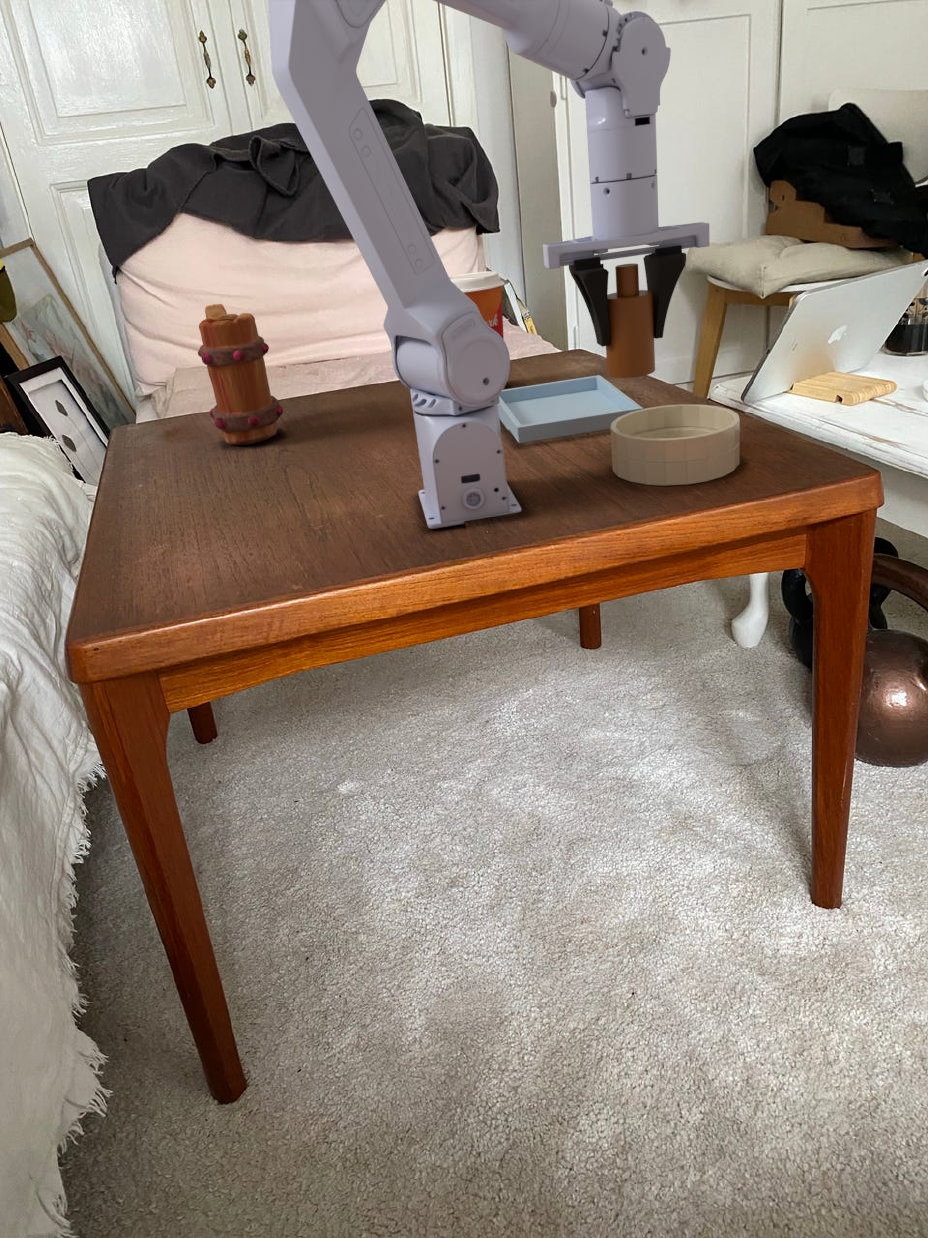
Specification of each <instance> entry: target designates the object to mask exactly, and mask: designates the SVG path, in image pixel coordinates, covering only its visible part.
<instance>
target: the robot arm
mask: <svg viewBox="0 0 928 1238" xmlns="http://www.w3.org/2000/svg"><path fill="white" fill-rule="evenodd" d="M432 1H433V2H435V3H439V4H441V5H443V6H446V7H448V8H451V9H453V10H456V11H459V12H461V13H464V14H466V15H469V16H470V17H473V18H476V19H478V20H481V21H483V22H486V23H488V24H491V25H494V26H496V27H498V28H500V29H502V32H503V36H504V39H505V42H506V45H507V48H508V49H509V50H510V51H511V52H512V53H513V54H515V55H517V56H519V57H521V58H523V59H526V60H527V61H530V62H532V63H534V64H536V65H539V66H541V67H542V68H545V69H547V70H549V71H551V72H553V73H556V74H558V75H559V76H562V77H565V78H567V79H569V82H570V84H571V87H572V88H573V90H574V91H575V93H576V94H577V95H578V96H579V98H580V99H584V100H585V118H586V119H585V120H586V134H587V135H586V136H587V138H586V139H587V154H588V170H589V171H588V172H589V173H588V174H589V189H590V190H589V191H590V192H589V193H590V207H591V208H590V209H591V210H590V211H591V223H592V224H591V227H592V228H591V229H592V235H590V236H585V237H580V238H574V239H569V240H568V239H567V240H563V241H558V242H557V241H555V242H551V243H543V244H542V252H543V253H542V254H543V264H544V268H545V269H548V270H553V269H560V268H561V267H566V266H568V271H569V273H570V276H571V277H572V279H573V281H574V282H575V284H576V287H577V289H578V290H579V292H580V294H581V296H582V298H583V301H584V303H585V305H586V309H587V311H588V313H589V316H590V318H591V322H592V325H593V326H592V327H593V329H594V335H595V339H596V344H597V345H598V346H600V347H606V346H610V330H609V321H608V310H607V295H608V294H609V292H608V291H609V290H608V289H609V270H608V269H606V268H605V267H604V266H605V265H604V263H601V261H609V260H615V259H622V258H623V259H624V258H629V257H637V256H643V255H644V257H643V258H642V259H643V265H644V272H645V279H646V290H648V291H652V292H653V318H654V340H656V339H663V337H664V331H665V325H666V319H667V316H668V311H669V307H670V303H671V300H672V297H673V295H674V292H675V289H676V286H677V284H678V281H679V279H680V277H681V276H682V273H683V271H684V269H685V268H686V267H685V266H686V263H687V253H686V252H683V250H686V249H691V248H692V249H693V248H698V249H700V248H706V247H707V248H708V247H710V223H709V222H704V221H699V222H691V223H684V224H674V225H665V226H659V225H660V224H659V223H660V222H659V193H658V192H659V190H658V186H659V185H658V152H657V149H658V148H657V118H656V117H657V116H656V114H657V112H658V110H659V109H658V108H659V106H661V87H662V84H663V82H664V79H665V77H666V76H667V75H666V74H667V73H668V71H669V66H670V62H671V53H672V50H671V47H667V46H666V44H667V43H666V38H665V35H664V32H663V30H662V28H661V26H660V25H659V24H658V23H657V22H656V21H655V20H654V19H653V18H652V16H650V15H649V14H647V13H646V12H643V11H640V10H639V11H637V10H634V11H631V12H627V13H623V14H621V13H620V12H619V11H618V9H616V8H615V7H613V6H614V1H613V0H432ZM386 2H387V0H267V8H268V9H267V10H268V24H269V25H268V26H269V27H268V28H269V46H270V47H269V49H270V61H271V64H270V65H271V74H272V77H273V80H274V83H275V85H276V88H277V90H278V91H279V94H280V96H281V98H282V100H283V102H284V104H285V106H286V108H287V111H288V112H289V114H290V116H291V117H292V119H293V122H294V124H295V126H296V128H297V130H298V132H299V134H300V135H301V137H302V139H303V141H304V144H305V145H306V147H307V149H308V152H309V153H310V155H311V158H312V159H313V161H314V163H315V165H316V167H317V170H318V171H319V173H320V175H321V176H322V179H323V181H324V183H325V186H326V187H327V189H328V191H329V193H330V195H331V197H332V199H333V201H334V203H335V205H336V206H337V207H336V208H337V209H338V211H339V212H340V215H341V217H342V218H343V220H344V222H345V225H346V226H347V228H348V231H349V233H350V235H351V236H352V239H353V241H354V242H355V245H356V246H357V248H358V250H359V253H360V255H361V256H362V259H363V260H364V263H365V264H366V266H367V269H368V270H369V272H370V275H371V276H372V278H373V280H374V282H375V284H376V286H377V288H378V290H379V292H380V294H381V296H382V299H383V300H384V302H385V304H386V305H387V310H386V314H385V317H384V320H383V329H384V331H385V333H386V335H387V338H388V339H389V343H390V346H391V360H392V361H391V362H392V367H393V371H394V373H395V375H396V377H397V379H398V381H400V383H401V384H402V385H403V386H404V387H405V388H407V389H408V390H409V393H410V399H411V406H412V407H411V408H412V415H413V421H414V427H415V435H416V441H417V450H418V456H419V462H420V470H421V476H422V483H423V489H421V490H418V492H417V493H418V498H419V501H420V505H421V508H422V511H423V515H424V519H425V522H426V525H427V528H428V529H430V530H433V529H434V530H435V529H440V528H448V527H453V526H460V525H465V524H466V523H465V522H467V521H473V520H480V519H487V518H492V517H499V516H505V515H510V514H518V513H521V512H522V507H521V505H520V503H519V501H518V500H517V498H516V496H515V495H514V494H513V491H512V489H511V487H510V486H509V484H508V480H507V471H506V470H507V469H506V461H505V451H504V445H503V439H502V430H501V420H500V418H499V410H498V404H499V403H500V400H499V394H500V393H501V391H502V390H504V389H503V388H504V387H505V388H506V385H507V382H508V379H509V375H510V371H511V357H510V356H511V355H510V351H509V349H508V346H507V343H506V341H505V340H503V338H502V337H501V336H500V335H499V334H498V333H497V332H496V331H494V330H493V329H492V328H490V327H489V326H488V325H487V324H486V322H485V321H484V319H483V318H482V316H481V314H480V311H479V309H478V307H477V305H476V304H475V303H474V302H473V301H472V300H471V299H470V298H469V297H468V296H467V295H465V294H464V293H463V292H462V291H461V290H460V289H459V288H458V287H457V286H456V285H455V284H454V283H453V282H452V281H451V280H450V279H449V277H450V276H449V275H448V272H447V270H446V268H445V265H444V264H443V261H442V259H441V256H440V254H439V253H438V250H437V248H436V246H435V244H434V241H433V239H432V237H431V235H430V232H429V230H428V228H427V225H426V224H425V222H424V220H423V217H422V215H421V213H420V211H419V208H418V207H417V204H416V201H415V200H414V198H413V196H412V193H411V191H410V188H409V186H408V184H407V181H406V180H405V178H404V175H403V173H402V171H401V169H400V167H399V165H398V162H397V160H396V158H395V155H394V154H393V151H392V149H391V147H390V144H389V142H388V140H387V139H386V136H385V134H384V132H383V130H382V127H381V125H380V123H379V121H378V119H377V117H376V114H375V112H374V110H373V107H372V105H371V103H370V102H369V98H368V97H367V94H366V92H365V89H364V88H363V86H362V83H361V82H360V79H359V77H358V73H357V69H358V68H357V67H358V64H359V61H360V58H361V55H362V51H363V48H364V46H365V45H364V44H365V42H366V38H367V36H368V32H369V30H370V26H371V23H372V22H373V20H374V19H375V17H376V16H377V14H378V13H379V12H380V10H381V9H382V7H383V6H384V4H385V3H386ZM639 246H647V247H641V248H633V249H626V250H620V251H619V250H618V251H611V252H609V250H614V249H623V248H624V249H625V248H631V247H639Z"/></svg>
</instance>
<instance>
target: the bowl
mask: <svg viewBox="0 0 928 1238" xmlns="http://www.w3.org/2000/svg"><path fill="white" fill-rule="evenodd" d="M740 435H741V419H740V415H739V414H738V413H737V412H735V411H733V410H732V409H730V408H725V407H722V406H718V405H711V404H709V405H708V404H699V403H698V404H697V403H696V404H695V403H694V404H690V403H684V404H683V403H681V404H668V405H659V406H653V407H647V408H643V409H642V410H638V411H634V412H630V413H628V414H625V415H623V416H621V417H618V418H617V419H616V420H615V421H613V422H612V423H611V429H610V445H611V446H610V447H611V462H612V463H611V465H612V466H611V467H612V472H613V473H614V475H615V476H617V477H618V478H620V479H622V480H625V481H627V482H630V483H635V484H641V485H646V486H663V487H664V486H665V487H666V486H667V487H668V486H683V485H684V486H685V485H693V484H699V483H705V482H709V481H712V480H713V481H714V480H716V479H719V478H723V477H725V476H727V475H728V474H730V473H732V472H734V471H735V470H736V469H737V467H738V466H739V465H740V453H741V452H740V447H741V446H740V445H741V444H740V443H741V442H740V441H741V436H740Z"/></svg>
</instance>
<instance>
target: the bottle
mask: <svg viewBox="0 0 928 1238" xmlns="http://www.w3.org/2000/svg"><path fill="white" fill-rule="evenodd" d="M614 270H615V287H616V290H615V291H616V292H611V293H608V294H607V310H608V321H609V330H610V346H605V353H606V354H605V355H606V356H605V357H606V372H607V373H606V375H607V376H608V377H611V378H615V379H630V378H639V377H644V376H649V375H651V374H653V373H654V372H655V371H656V355H655V354H656V353H655V352H656V351H655V338H654V318H653V292H652V291H648V290H647V289H640V280H639V279H640V278H639V264H638V263H622V264H618V265H616V266H615V269H614Z"/></svg>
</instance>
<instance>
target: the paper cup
mask: <svg viewBox="0 0 928 1238" xmlns="http://www.w3.org/2000/svg"><path fill="white" fill-rule="evenodd" d="M449 279H450V280H451V281H452V282H453V283H454V284H455V285H456V286H457V287H458V288H459V289H460V290H461V291H462V292H463V293H464V294H465V295H467V296H468V297H469V298H470V299H471V300H472V301H473V302H474V303H475V304H476V305H477V307H478V309H479V311H480V314H481V316H482V318H483V319H484V321H485V322H486V324H487V325H488V326H489V327H490V328H492V329H493V330H494V331H496V332H497V333H498V334H499V335H500V336H501V337H502V338H503V340H504V339H505V338H504V337H505V336H504V317H503V294H502V292H503V291H502V286H504V285H505V284H506V282H504V281H503V280H501V279H502V276H501V275H499V272H498V271H494V270H491V271H490V270H487V271H474V272H467V273H460V274H456V275H451V276H449ZM504 341H505V340H504ZM505 389H506V386H505V387H504V388H503V390H505Z"/></svg>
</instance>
